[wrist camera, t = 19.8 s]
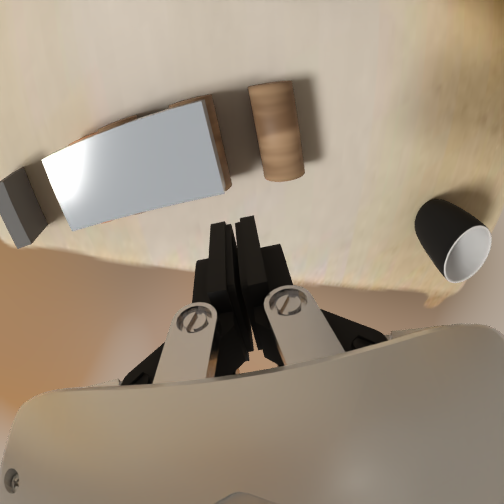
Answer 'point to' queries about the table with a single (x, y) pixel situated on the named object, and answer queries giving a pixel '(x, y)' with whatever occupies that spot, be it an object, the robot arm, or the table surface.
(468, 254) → the mug
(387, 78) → the table surface
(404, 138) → the table surface
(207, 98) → the roller mid
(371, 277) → the table surface
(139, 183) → the slab
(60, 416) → the robot arm
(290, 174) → the roller
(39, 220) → the block
